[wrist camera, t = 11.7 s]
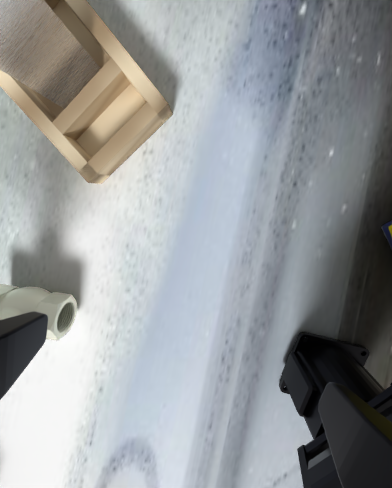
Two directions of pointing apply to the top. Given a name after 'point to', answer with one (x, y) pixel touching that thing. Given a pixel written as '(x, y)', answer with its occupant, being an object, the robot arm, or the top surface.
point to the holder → (95, 100)
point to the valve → (40, 307)
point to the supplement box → (388, 232)
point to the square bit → (42, 51)
